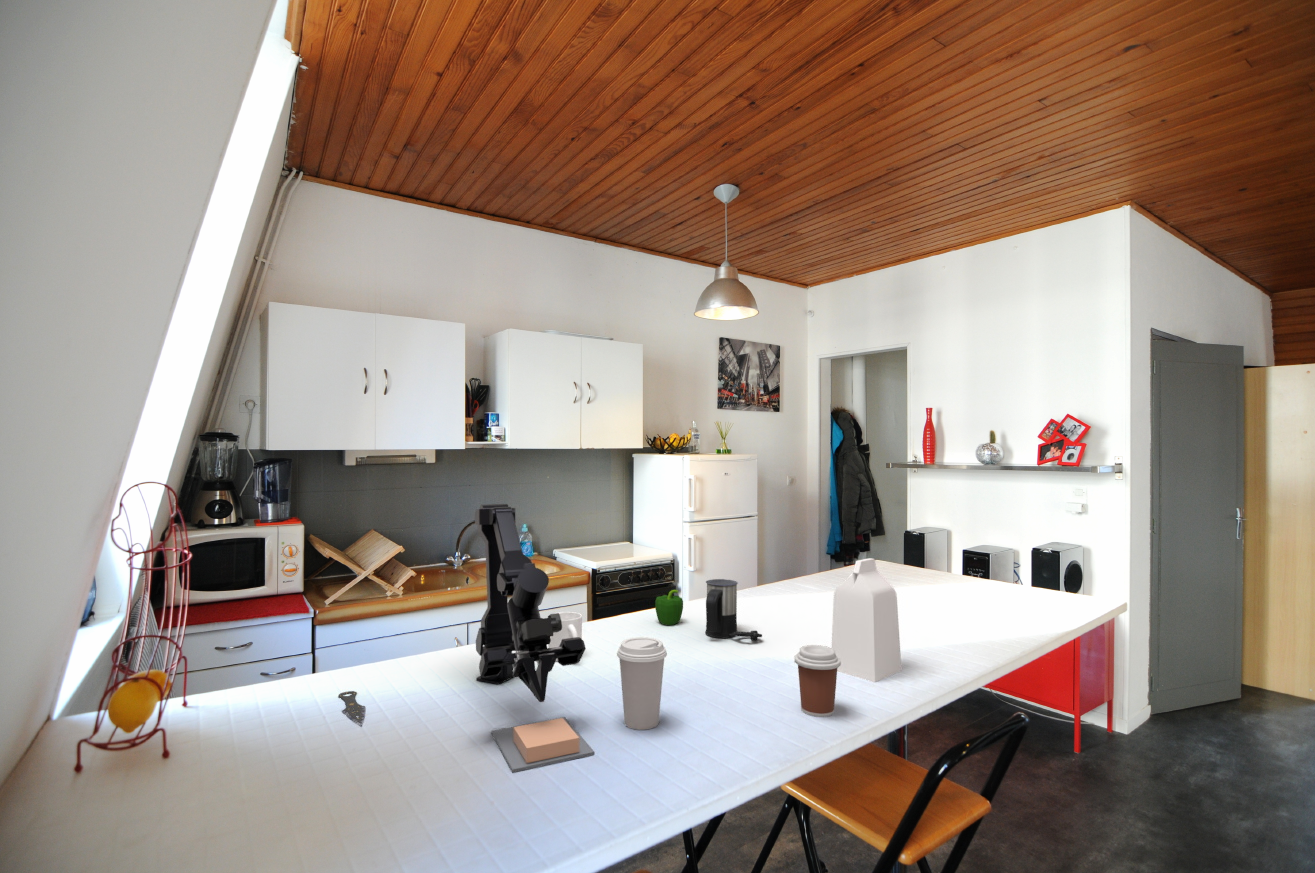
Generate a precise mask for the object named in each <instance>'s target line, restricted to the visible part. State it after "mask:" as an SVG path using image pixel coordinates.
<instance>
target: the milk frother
mask: <svg viewBox="0 0 1315 873" xmlns="http://www.w3.org/2000/svg"><path fill="white" fill-rule="evenodd" d="M705 583H706V598H705V611H706V612H705V613H706V617H705V618H706V621H705V622H706V625H705V627H706V628H705V632H704V633H705V635H706V636H709V637H712V638H718V639H730V638H735V637H742V638H743V637H744V638H750V640H751V641H758V640H759V638H762V637H763V634H762V633H758V630H751V631H738V624H737V623H738V622H737V617H738V616H737V614H738V613H737V605H738V604H737V601H738V600H737V599H738V593H737V591H738V590H737V589H738V587H737V586H738V584H739V582H738V581H737V580H734V579H733V580H732V579H724V578H715V579H714V578H713V579H708V580H706V581H705Z"/></svg>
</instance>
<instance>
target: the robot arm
mask: <svg viewBox="0 0 1315 873" xmlns="http://www.w3.org/2000/svg"><path fill="white" fill-rule="evenodd" d="M479 506H480V507H479V508H478V509H475V510H474V523H475V525H476V526H477V533H478V534H479V537H480V538H481V539H482V540H483V542H484V546H485V567H486V568H485V569H486V571H485V572H486V573H485V574H486V598H487V599H486V601H487V602H486V604H487V606H486V607H487V608H486V609H485V612H484V614H483V615H482V617H481V619H480V627H478V631H477V634H476V638H475V651H476V652H477V654H478V655H479V656H480V661H479V664H478V665H479V666H478V667H479V670H478V671H479V676H477V677H476V681H479V682H484V683H490V684H497V685H500V684H502V683H505V682H506V681H508V680H510V679H512V678H518V679H519V680H520V681H521V682H523V684H524V685H526V687H527V688H528V689H529V690H530V692H531V693H532V695H533V696H534V697H535V699H536V700H537V702H538V703H543V702H545V700H546V692H547V685H548V683H547V682H548V677H549V676H548V675H549V673H550V672H552V671H553V668H554V666H555V663H556V662H557V661H556V659H557V660H558V662H557V663H558V664H559V665H561V666H562V667H566V666H572V665H573V666H574V665H577V664H578V663H580V661H581V659H582V657H583V655H584V653H585V651H586V649H587V648H586V644H585V641H584V639H583V638H582V639H581V638H580V637H575V638H567V639H562V641H561V643H560V646H559V647H554V648H548V644H550V642H551V639H550V636H553V633H554V632H559V631H561V630H562V622H561V618H560V614H559V612H555V613H556V614H554V613H550V614H549V615H548V616H547V617H545V618H543V617H541V613H540V609H539V606H541V604H542V603H543V600H544V597H545V594H546V592H547V588H548V586H549V583H550V578H549V576H548V575H547V573H546V572H545V571H544V570H543V569H541V568H538V567H536V563H535V562H533V561H532V559H531V558H529V557H528V556H527V555H526V554H524V552H523V549H522V548H523V547H522V544H521V541H520V537H519V533H518V529H517V525H516V521H517V520H516V507H511V506H509V505H508V504H507V503H497V504H496V503H492V504H491V503H490V504H480V505H479ZM508 597H511V598H509V600H508ZM535 662H536V663H537V667H536V663H535Z"/></svg>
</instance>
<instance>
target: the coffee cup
mask: <svg viewBox="0 0 1315 873" xmlns="http://www.w3.org/2000/svg"><path fill="white" fill-rule="evenodd" d="M667 656H668V653H667V649H666V647H664V644H663V641H662V640H660V639H657V638H654V637H643V636H640V637H630V638H626V639H624V640H622V642H621V643H620V646H619V647H618V649H617V652H616V657H617V658H618V660H619V668H620V682H621V691H622V692H621V693H622V694H621V695H622V703H623V704H622V706H623V708H622V709H623V718H624V719H623V721H624V725H625V726H626V727H628V728H629V729H631V730H637V731H646V730H651V729H653V728H656V727H657V726H658V725H659V723H660V722H659V721H660V711H661V698H662V688H663V678H664V677H663V676H664V666H665V665H664V664H665V658H666V657H667Z"/></svg>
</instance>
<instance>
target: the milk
mask: <svg viewBox="0 0 1315 873" xmlns="http://www.w3.org/2000/svg"><path fill="white" fill-rule="evenodd" d="M832 607H833V608H832V628H831V631H832V632H831V647H830V648H832V649H833V650H835V655H837V657H838V658H840V661H841V666H839V667H838V668H837V673H842V674H846V675H849V676H851V677H854V678H858V677H859V679H862V680H865V679H866V680H865V681H868V680H869V682H873V683H876V682H879V681H881V680H884V679H886V678H888V677H891V676H892V675H895V674H897V673H899V672H902V669H903V668H902V657H901V654H902V653H901V642H900V641H901V640H900V639H901V638H900V625H899V624H900V623H899V611H898V596H897V592H896V590H895V588H894V587H893V585H892V584H891V583H890V582H889V581H888V580H887V579H886V578H885V577H884V576H883V575H882V573H880V572H879V571H878V570H877V564H876V560H875V558H871V557H870V558H863V559H858V560H855V565H854V568H853V571H852V572H851V574H849V575H848V576H847V578H846V579H845V580H843V581H842V582H841V583H840V584H839V585H838V586H837V587H836V588H835V589H834V592H833V603H832Z"/></svg>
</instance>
